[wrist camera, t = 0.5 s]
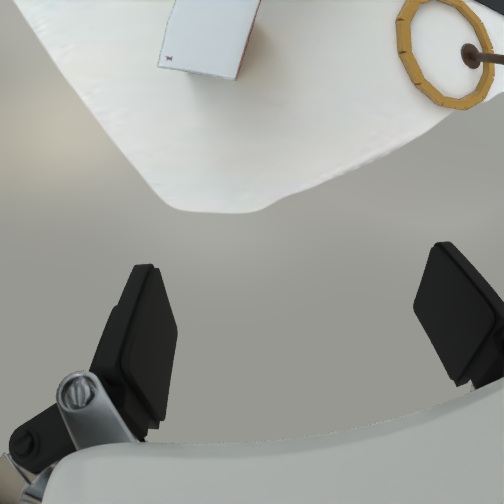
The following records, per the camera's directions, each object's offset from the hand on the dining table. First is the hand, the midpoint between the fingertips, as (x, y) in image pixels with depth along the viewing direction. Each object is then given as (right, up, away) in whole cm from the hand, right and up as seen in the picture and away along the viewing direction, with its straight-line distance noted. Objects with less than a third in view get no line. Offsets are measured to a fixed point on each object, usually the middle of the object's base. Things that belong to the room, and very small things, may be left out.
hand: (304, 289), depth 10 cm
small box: (-5, +25, +18) cm, 31 cm away
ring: (+25, +29, +17) cm, 42 cm away
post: (+30, +29, +17) cm, 45 cm away
